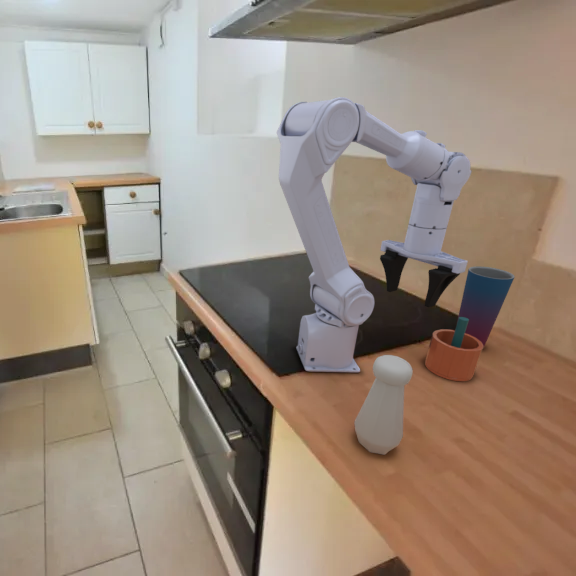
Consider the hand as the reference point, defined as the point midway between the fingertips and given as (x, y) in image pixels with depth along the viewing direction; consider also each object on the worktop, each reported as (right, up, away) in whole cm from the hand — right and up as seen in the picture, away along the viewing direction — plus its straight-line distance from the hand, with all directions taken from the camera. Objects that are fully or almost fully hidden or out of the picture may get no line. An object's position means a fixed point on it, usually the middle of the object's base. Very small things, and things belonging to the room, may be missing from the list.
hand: (409, 297), depth 70 cm
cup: (+14, -9, +5) cm, 18 cm away
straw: (+5, -12, -3) cm, 13 cm away
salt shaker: (-16, -19, -19) cm, 31 cm away
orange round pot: (+5, -13, -3) cm, 14 cm away
